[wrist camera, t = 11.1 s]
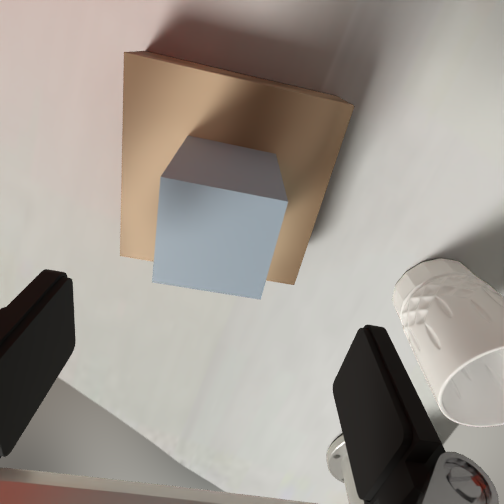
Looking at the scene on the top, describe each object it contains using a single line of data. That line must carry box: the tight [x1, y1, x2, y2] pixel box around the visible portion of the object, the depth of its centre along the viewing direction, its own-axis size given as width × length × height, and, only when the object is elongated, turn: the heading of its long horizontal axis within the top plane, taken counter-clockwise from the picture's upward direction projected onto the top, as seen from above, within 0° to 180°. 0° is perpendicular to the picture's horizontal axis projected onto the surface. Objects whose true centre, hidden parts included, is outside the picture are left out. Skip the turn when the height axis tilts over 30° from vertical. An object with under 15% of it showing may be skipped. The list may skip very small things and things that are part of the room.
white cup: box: [392, 258, 504, 427], centre depth 26 cm, size 8×8×10 cm
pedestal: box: [120, 51, 354, 285], centre depth 22 cm, size 12×12×4 cm
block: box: [152, 135, 288, 299], centre depth 18 cm, size 5×5×7 cm
